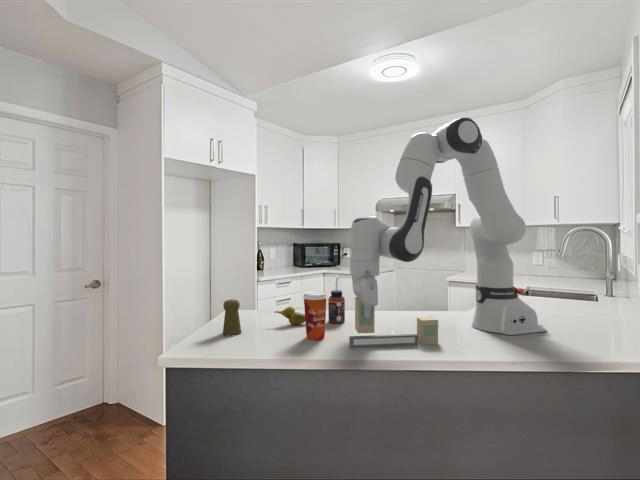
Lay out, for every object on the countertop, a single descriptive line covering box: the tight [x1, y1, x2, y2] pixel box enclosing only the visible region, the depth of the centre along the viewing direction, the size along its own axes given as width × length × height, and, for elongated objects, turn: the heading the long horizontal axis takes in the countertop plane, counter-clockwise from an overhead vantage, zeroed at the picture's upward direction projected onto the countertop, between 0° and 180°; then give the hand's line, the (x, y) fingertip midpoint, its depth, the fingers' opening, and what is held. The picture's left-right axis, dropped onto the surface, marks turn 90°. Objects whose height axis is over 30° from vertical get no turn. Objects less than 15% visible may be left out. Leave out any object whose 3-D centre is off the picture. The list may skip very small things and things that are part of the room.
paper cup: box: [302, 290, 328, 341], centre depth 117 cm, size 8×8×14 cm
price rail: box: [348, 333, 419, 349], centre depth 108 cm, size 20×1×3 cm, turn 95°
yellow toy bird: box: [274, 306, 306, 326], centre depth 132 cm, size 4×15×6 cm, turn 98°
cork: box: [222, 299, 242, 337], centre depth 122 cm, size 6×6×11 cm
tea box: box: [416, 316, 439, 345], centre depth 112 cm, size 5×4×7 cm
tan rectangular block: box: [354, 296, 376, 334], centre depth 114 cm, size 5×5×10 cm
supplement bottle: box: [327, 289, 346, 324], centre depth 136 cm, size 6×6×11 cm
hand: (364, 314), depth 114 cm, fingers closed on tan rectangular block, 5 cm apart
